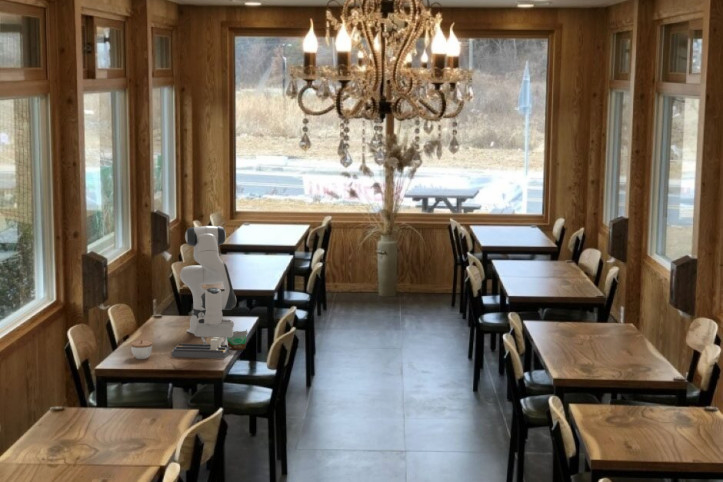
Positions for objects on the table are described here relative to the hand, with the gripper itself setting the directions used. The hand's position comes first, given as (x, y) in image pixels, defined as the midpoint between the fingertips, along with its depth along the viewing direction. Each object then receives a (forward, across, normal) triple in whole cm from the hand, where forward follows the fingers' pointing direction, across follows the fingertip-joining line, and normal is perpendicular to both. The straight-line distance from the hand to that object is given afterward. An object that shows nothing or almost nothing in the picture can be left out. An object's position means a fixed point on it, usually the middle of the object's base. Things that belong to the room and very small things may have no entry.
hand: (214, 345), depth 559 cm
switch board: (+6, +8, -3) cm, 10 cm away
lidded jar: (+6, +37, +6) cm, 38 cm away
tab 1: (+3, 0, 0) cm, 3 cm away
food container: (+6, -10, -16) cm, 20 cm away
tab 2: (+3, 0, -6) cm, 7 cm away
